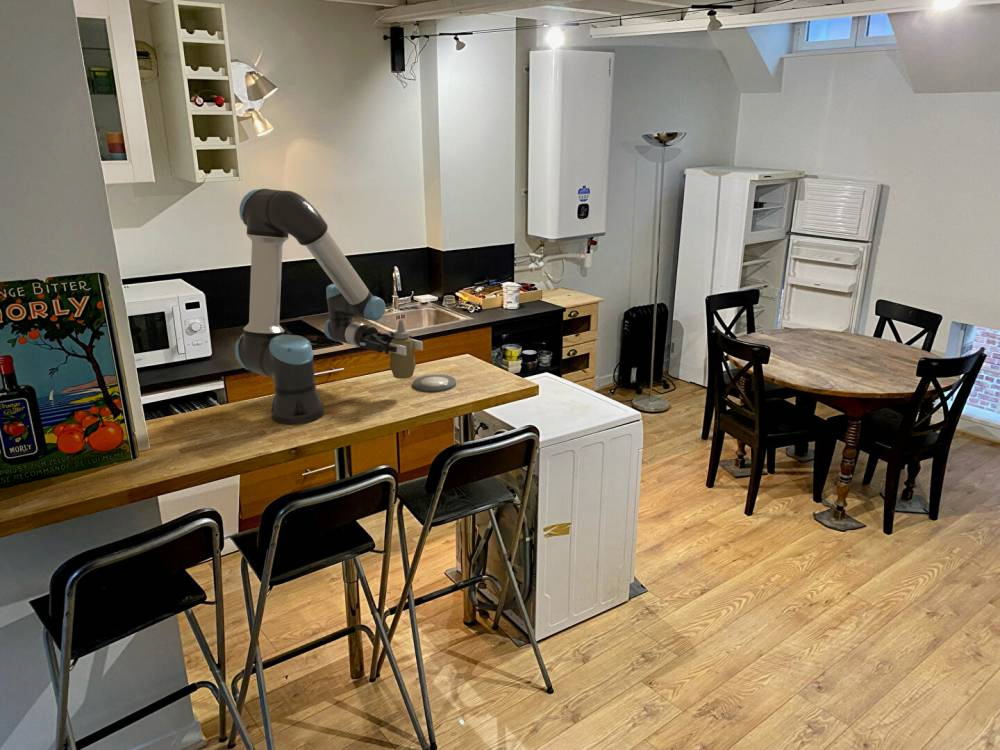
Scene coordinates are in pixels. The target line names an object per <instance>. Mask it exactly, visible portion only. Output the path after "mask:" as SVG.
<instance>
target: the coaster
mask: <svg viewBox="0 0 1000 750" xmlns="http://www.w3.org/2000/svg"><path fill="white" fill-rule="evenodd" d="M412 383H413V388H414V389H416V390H418V391H422V392H428V393H430V392H431V393H436V392H437V393H438V392H444V391H449V390H451V389H453V388H455V387H456V386H457V380H456V378H455V377H454V376H451V375H445V374H429V375H422V376H419V377H417V378H415V379H414V380H413V382H412Z"/></svg>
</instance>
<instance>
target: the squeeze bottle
mask: <svg viewBox="0 0 1000 750" xmlns="http://www.w3.org/2000/svg"><path fill="white" fill-rule="evenodd" d="M403 320H404V319H400V320H398V324H397V330H396V331H393V332H394V338H393V339H392V340H391V343H394V344H398V345H402V346H406V355H405V356H404V355H400V354H396V353H393V352H390V353H389V354H390V357H389V359H390V360H389V368H390V370H391V374H392V375H393V378H395V379H400V380H403V379H405V380H407V379H410V378H412V377H413V375H414V372H415V370H416V358H415V351H414V350H415V349H413V342H412V339H413V338H412V339H411V338H409V336H410V331H409V330H406V327H405V323H404V321H403Z"/></svg>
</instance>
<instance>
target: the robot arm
mask: <svg viewBox="0 0 1000 750" xmlns="http://www.w3.org/2000/svg"><path fill="white" fill-rule="evenodd" d="M238 211H239V216H240V220H241V221H242V222H243V224H244V225H245V226H246V236H247V237H248V238H249V239H250V241H251V256H250V257H251V260H250V262H251V263H250V264H251V265H250V284H249V285H250V287H249V288H250V289H249V311H248V312H249V315H248V316H249V318H248V323H247V324H246V325H245V326H244V327H243V331H242V334H241V335H240V336H239V338H238V339H237V340H236V343H235V347H234V354H235V358H236V360H237V363H239V365H240V366H241V368H244V369H245V370H247V371H249V372H251V373H253V374H257V375H258V374H259V375H262V376H266V377H269V378H273V386H274V396H273V400H272V404H271V410H270V416H271V421H273V422H274V423H276V424H279V425H285V426H286V425H290V426H291V425H293V426H294V425H303V424H304V425H305V424H308V423H311V422H313V421H314V422H315V421H317V420H319V419H320V418H322V417H323V416H324V414H325V406H324V404H323V402H322V400H321V397H320V395H319V393H318V390H317V388H316V376H315V365H314V351H313V347H312V343H311V342H310V340H309V339H308V338H306V337H304V336H301V335H298V334H294V335H293V334H285V329H284V328H283V327H282V326H281V325H280V316H281V315H280V314H281V292H282V291H281V288H282V283H281V282H282V269H283V268H282V267H283V266H282V265H283V264H282V263H283V246H284V243H285V242H287V240H288V239H289V235H290V236H292V237H293V238H294V239H295V240H297V242H298V244H299V245H301V246H304V247H306V248H307V250H308V251H309V252H310V254H311V256H312V257H313V258H314V260H315V261H317V263H318V264H319V266H320V267H321V268H322V270H323V271H324V272H325V274H326V275H327V276H328V277H329V279H330V280H331V281H332V283H331V284H329V285H327V286H326V289H325V290H326V298H325V299H326V303H327V309H328V317H329V319H327V320H326V321H325V324H324V327H323V332H324V335H325V336H326V338H328V339H329V340H332V341H335V342H337V343H342V344H347V345H351V346H353V347H354V346H355V347H356V348H361V349H366V350H370V351H372V352H373V351H374V352H377V353H381V354H382V353H384V355H389V354H390V353H391V352H393V353H396V354H400V355H404V356H405V355H406V346H402V345H398V344H394V343H391V340H392V339H393V338H394V332H395V331H388V333H385V332H382V331H379V330H378V329H377V328H376V327H375V326H373V325H369V324H364V323H360V322H356V321H354V318H353V317H355V318H359V319H363V320H366V321H376V322H377V321H379V320H381V319H382V318H383V316H385V312H386V303H385V301H384V299H382V298H381V297H378V296H376V295H373V294H372V293H371V292H370V290H369V288H368V287H367V285H366V284H365V283H364V281H363V279H361V277H360V276H359V274H358V273H357V271H356V270H355V269H354V267H353V266H352V264H351V263H350V261H349V260H348V259H347V257H346V256H345V254H344V253H343V251H342V250H341V248H340V247H339V246H338V244H337V242H336V241H335V239H334V238H333V237H332V236H331V234H330V233H329V232H328V229H329V225H328V224H327V221H325V220H324V218H323V217H322V215H321V214H320V213H319V211H318V210H317V209H316V208H315V207H314V206H313V204H311V203H310V202H309V201H308V200H307V199H306V198H305V197H304V196H302V195H300V194H298V193H296V192H294V191H293V190H292V191H291V190H282V189H281V190H279V189H269V188H259V189H252V190H250V191H249V192H248V193H247V194H245V195H244V196H243V198H242V199H241V202H240V204H239V210H238ZM409 338H411V339H412V342H413V349H414V350H417V351H424V346H423V345H424V343H423V341H422V340H419V339H418V340H417V339H414V338H413V336H412V335H409Z"/></svg>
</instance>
